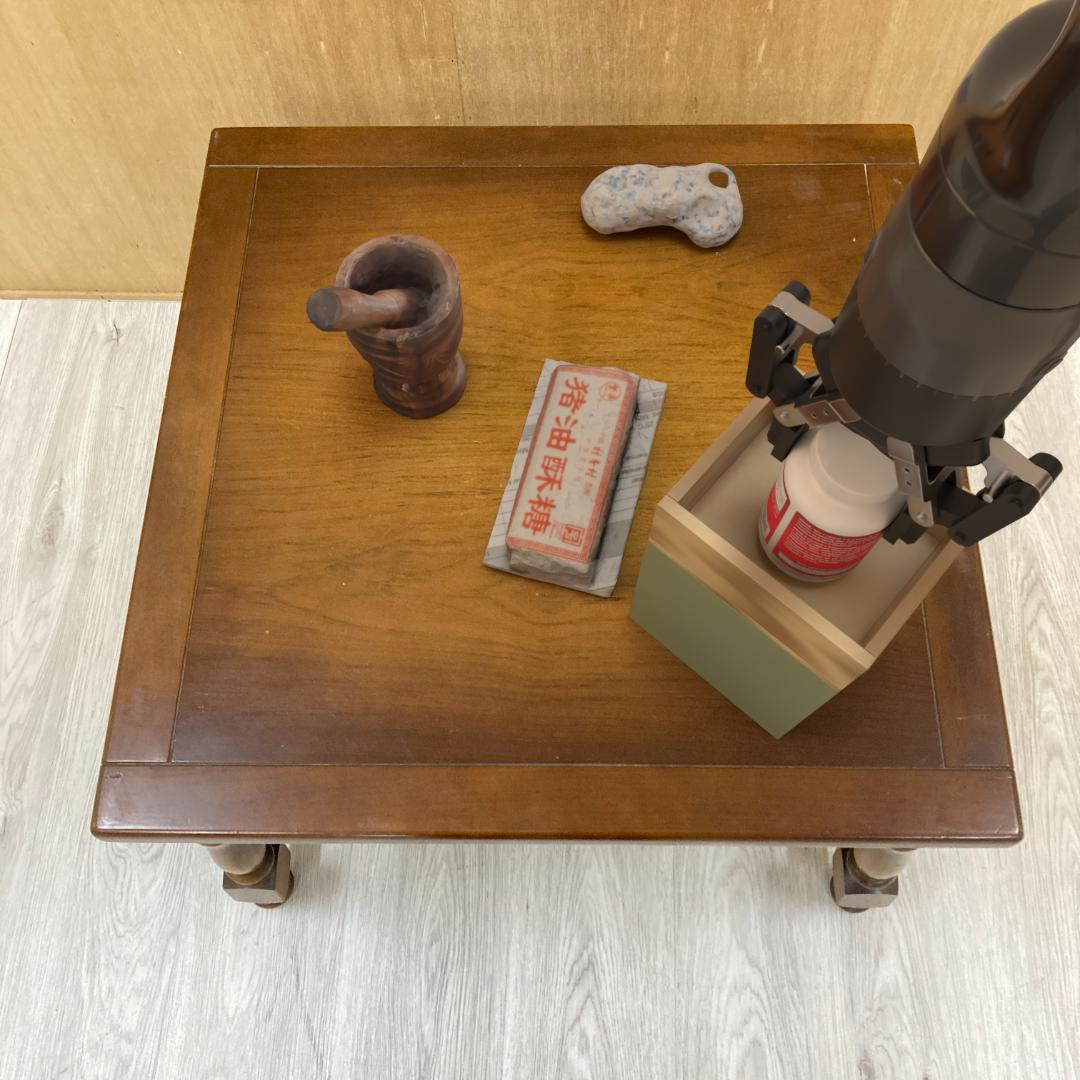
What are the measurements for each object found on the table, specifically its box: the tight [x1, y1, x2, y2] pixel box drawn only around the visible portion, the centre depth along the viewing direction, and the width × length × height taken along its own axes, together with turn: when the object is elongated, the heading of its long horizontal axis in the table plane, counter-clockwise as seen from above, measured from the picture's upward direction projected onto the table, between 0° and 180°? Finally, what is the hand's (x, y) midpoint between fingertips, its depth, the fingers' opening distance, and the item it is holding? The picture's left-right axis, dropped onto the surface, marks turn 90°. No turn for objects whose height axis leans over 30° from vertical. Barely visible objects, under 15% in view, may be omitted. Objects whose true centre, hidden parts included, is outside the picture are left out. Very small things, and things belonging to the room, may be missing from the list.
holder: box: [647, 364, 976, 693], centre depth 57 cm, size 14×12×6 cm
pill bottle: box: [759, 422, 907, 582], centre depth 53 cm, size 6×6×11 cm
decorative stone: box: [580, 162, 744, 249], centre depth 84 cm, size 13×7×5 cm, turn 94°
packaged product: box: [481, 357, 668, 598], centre depth 76 cm, size 18×5×10 cm
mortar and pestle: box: [305, 233, 467, 419], centre depth 71 cm, size 12×9×20 cm
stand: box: [627, 540, 840, 740], centre depth 67 cm, size 14×12×16 cm
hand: (841, 486), depth 51 cm, fingers closed on pill bottle, 6 cm apart
